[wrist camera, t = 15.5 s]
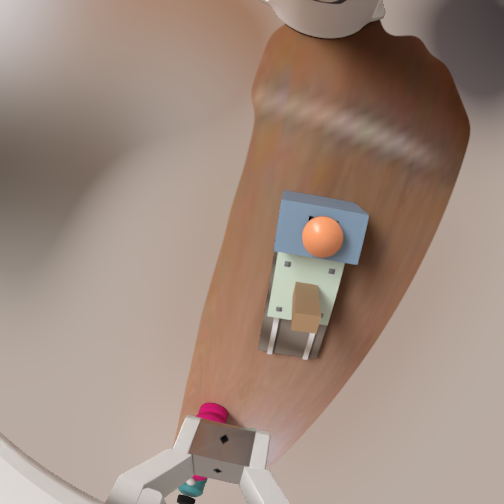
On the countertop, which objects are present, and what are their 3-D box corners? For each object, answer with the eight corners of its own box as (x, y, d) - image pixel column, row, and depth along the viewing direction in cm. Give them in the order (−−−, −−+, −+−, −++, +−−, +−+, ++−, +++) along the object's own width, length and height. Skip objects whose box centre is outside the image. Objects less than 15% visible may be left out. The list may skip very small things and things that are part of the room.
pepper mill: (222, 399, 54) (197, 478, 35) (235, 419, 56) (215, 494, 37) (192, 402, 56) (163, 474, 37) (207, 421, 58) (183, 490, 39)
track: (277, 232, 40) (276, 236, 38) (346, 243, 39) (348, 248, 37) (258, 344, 47) (257, 352, 45) (316, 353, 46) (316, 361, 44)
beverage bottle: (209, 452, 63) (190, 510, 45) (188, 441, 63) (166, 500, 44) (222, 446, 61) (204, 508, 42) (200, 435, 60) (178, 498, 42)
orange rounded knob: (304, 205, 34) (306, 214, 29) (340, 211, 33) (347, 221, 29) (298, 240, 35) (299, 254, 31) (332, 246, 35) (338, 260, 30)
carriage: (278, 247, 39) (273, 277, 30) (343, 258, 38) (356, 290, 29) (268, 310, 42) (260, 350, 33) (326, 319, 41) (332, 360, 32)
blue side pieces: (283, 190, 38) (281, 199, 31) (355, 202, 37) (369, 215, 30) (277, 234, 40) (273, 253, 33) (345, 245, 40) (356, 267, 32)
